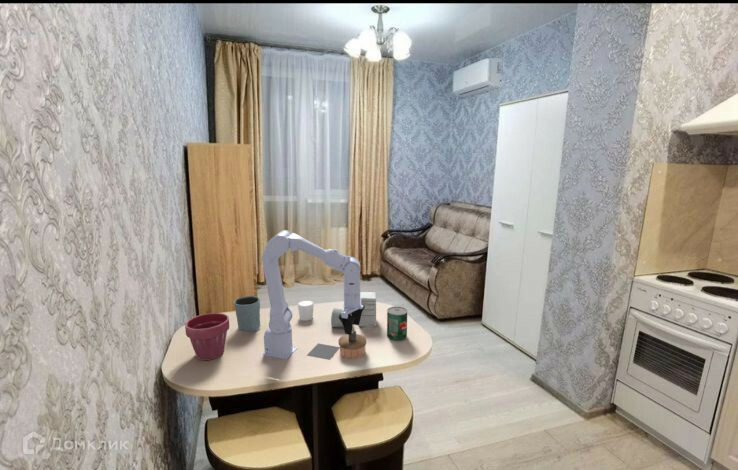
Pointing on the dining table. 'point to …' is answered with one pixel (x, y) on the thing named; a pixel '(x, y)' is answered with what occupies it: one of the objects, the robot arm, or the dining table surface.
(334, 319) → the ceramic mug
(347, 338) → the walnut lid
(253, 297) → the teal cup
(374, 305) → the supplement box
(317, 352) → the charcoal mat
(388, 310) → the canned tomato
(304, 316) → the shot glass
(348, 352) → the terracotta bowl
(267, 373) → the dining table surface
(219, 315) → the plant pot
